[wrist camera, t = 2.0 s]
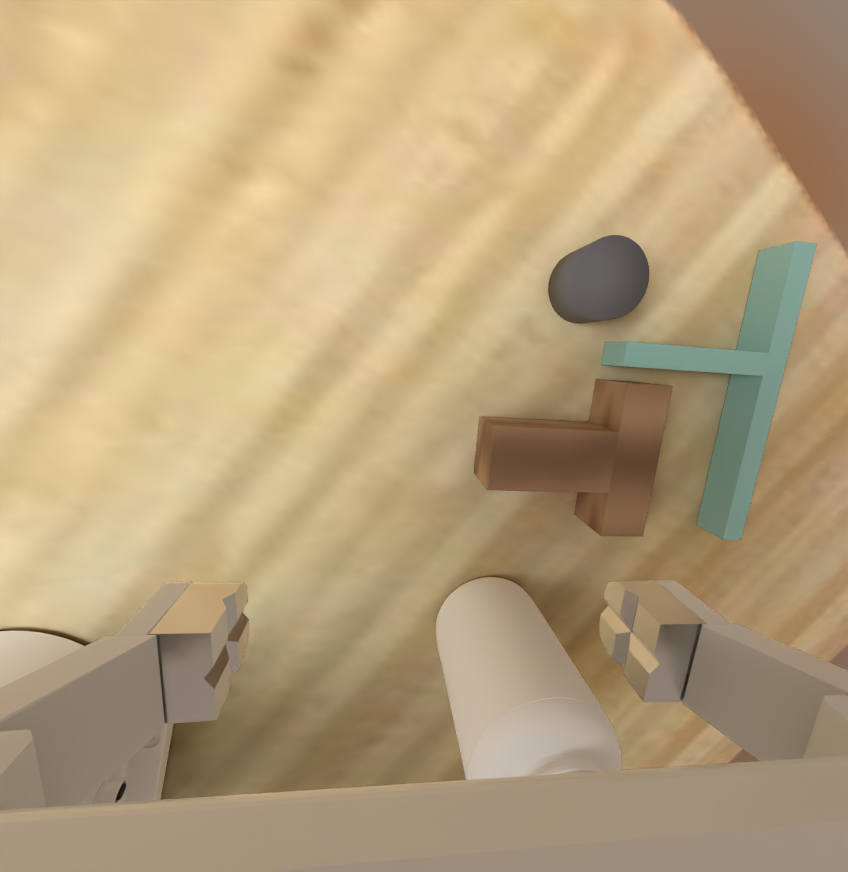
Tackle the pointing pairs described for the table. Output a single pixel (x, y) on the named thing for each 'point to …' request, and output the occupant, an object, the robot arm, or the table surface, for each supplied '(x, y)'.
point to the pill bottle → (517, 688)
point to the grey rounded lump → (599, 280)
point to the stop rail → (739, 381)
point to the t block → (584, 455)
